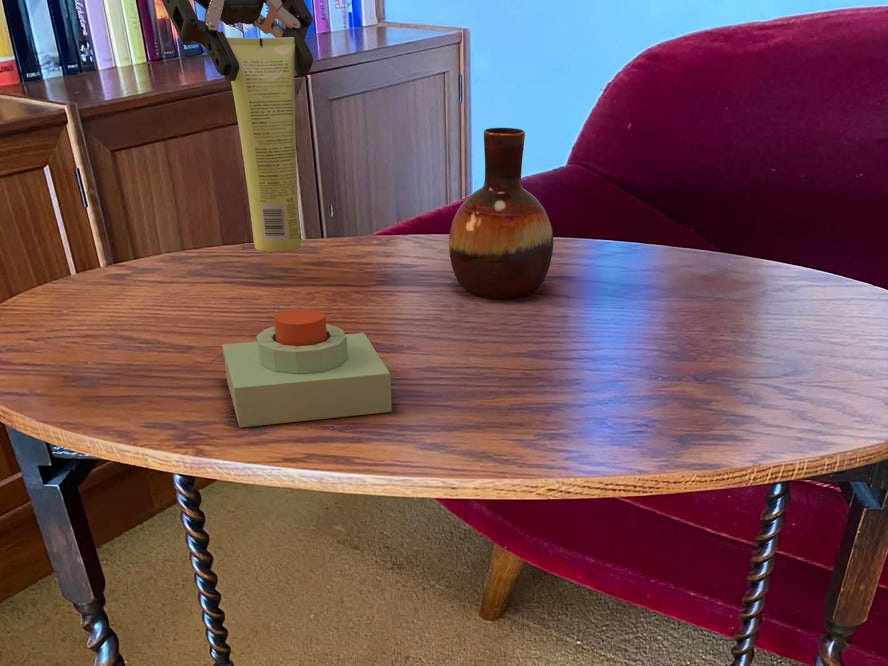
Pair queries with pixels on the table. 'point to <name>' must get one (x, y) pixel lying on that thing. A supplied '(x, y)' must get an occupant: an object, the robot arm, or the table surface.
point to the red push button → (300, 327)
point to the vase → (501, 227)
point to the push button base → (306, 379)
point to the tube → (268, 138)
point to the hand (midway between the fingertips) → (271, 73)
